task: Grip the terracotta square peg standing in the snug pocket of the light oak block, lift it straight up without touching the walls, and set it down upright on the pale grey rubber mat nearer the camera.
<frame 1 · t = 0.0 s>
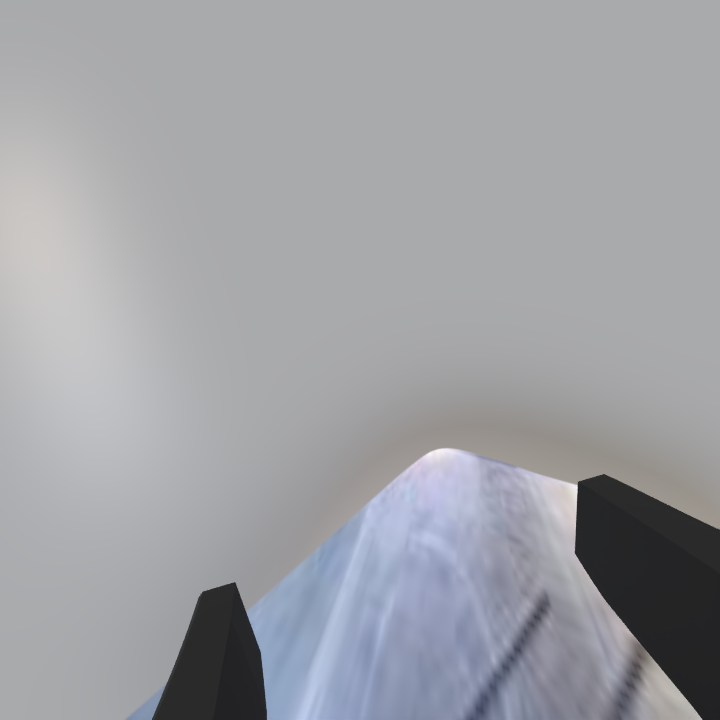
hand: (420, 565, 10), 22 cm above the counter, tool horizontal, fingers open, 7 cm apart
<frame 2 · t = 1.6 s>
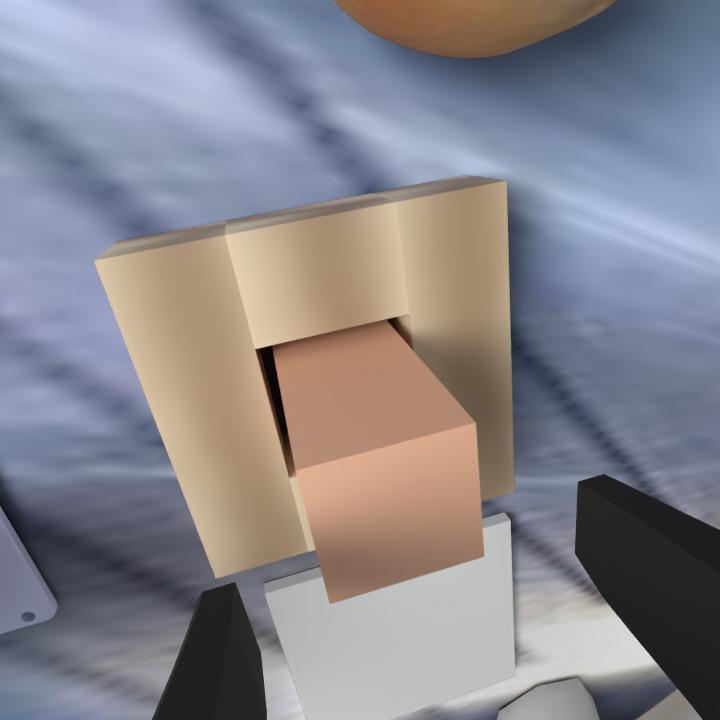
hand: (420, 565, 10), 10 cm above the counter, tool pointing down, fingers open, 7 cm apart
flask: (538, 711, 33), on the counter
mat: (402, 630, 26), on the counter
pocket block: (331, 364, 19), on the counter
peg: (356, 420, 15), in the pocket block
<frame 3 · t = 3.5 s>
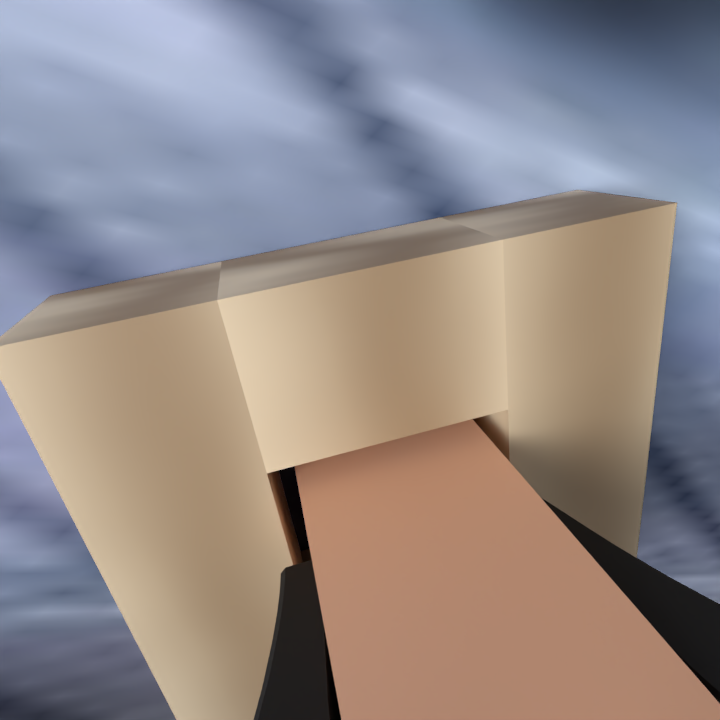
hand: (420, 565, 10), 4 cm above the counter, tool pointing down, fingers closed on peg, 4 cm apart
pocket block: (372, 457, 14), on the counter
peg: (429, 587, 10), in the pocket block, touching gripper
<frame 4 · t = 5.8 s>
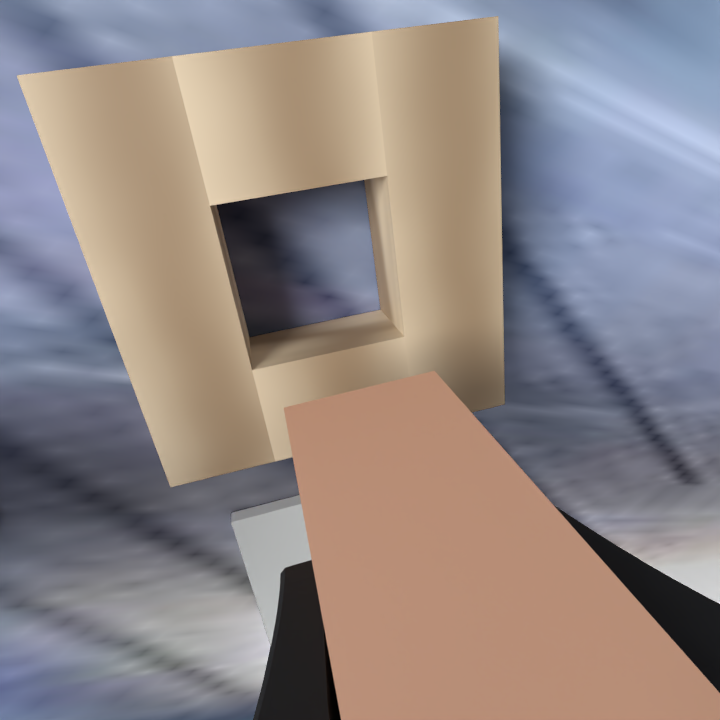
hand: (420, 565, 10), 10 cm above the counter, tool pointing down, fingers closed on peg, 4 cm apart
mat: (384, 575, 24), on the counter
pocket block: (304, 257, 18), on the counter
peg: (428, 581, 10), point 11 cm above the counter, touching gripper
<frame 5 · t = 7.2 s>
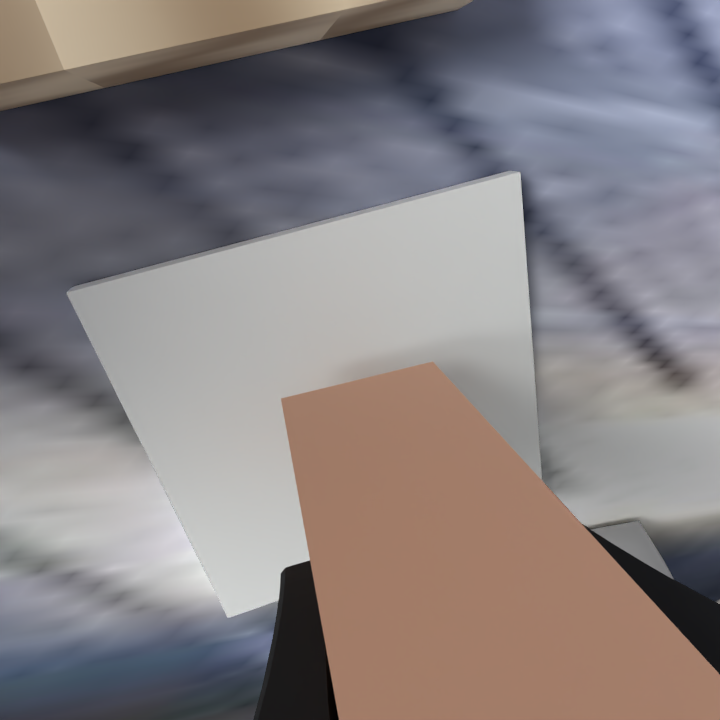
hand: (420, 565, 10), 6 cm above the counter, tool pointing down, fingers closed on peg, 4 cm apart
flask: (581, 580, 22), on the counter
mat: (352, 413, 16), on the counter
peg: (426, 571, 9), point 7 cm above the counter, touching gripper
when the fingers open (6 cm above the counter, at t = 8.2 s): peg drops 1 cm, resting on mat.
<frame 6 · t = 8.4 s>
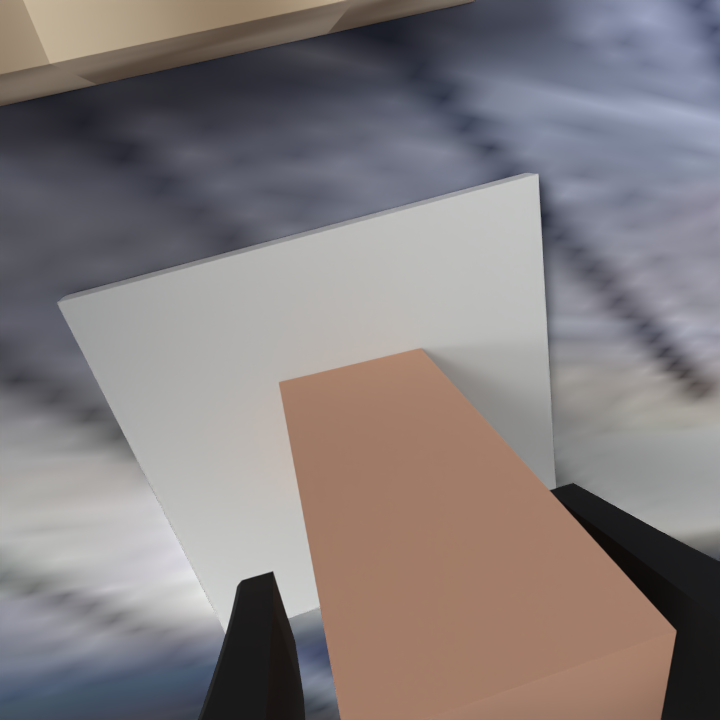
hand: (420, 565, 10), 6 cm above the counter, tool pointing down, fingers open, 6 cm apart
mat: (358, 426, 15), on the counter
peg: (411, 535, 10), on the mat, point 5 cm above the counter
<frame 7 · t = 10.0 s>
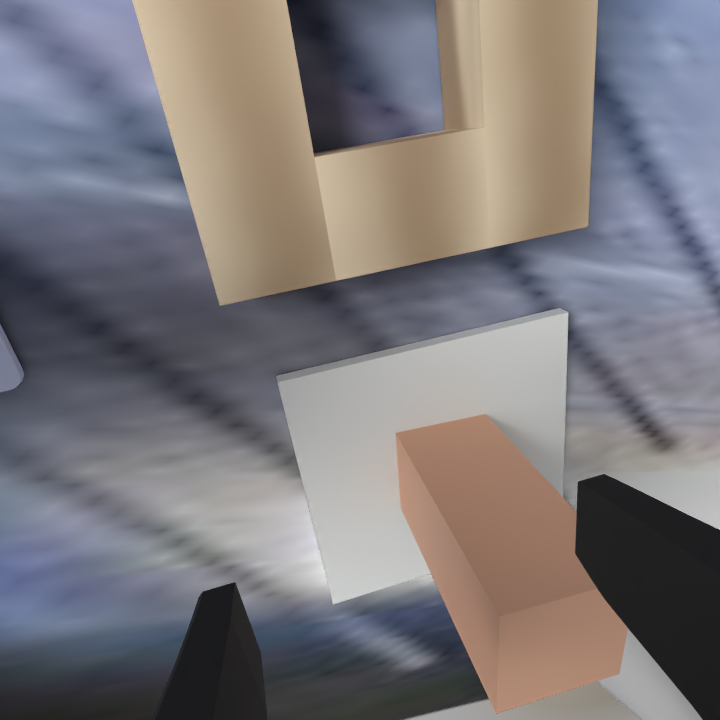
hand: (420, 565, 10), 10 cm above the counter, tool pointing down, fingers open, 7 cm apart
flask: (582, 589, 29), on the counter
mat: (436, 461, 23), on the counter
pocket block: (363, 55, 16), on the counter
peg: (489, 534, 18), on the mat, point 5 cm above the counter
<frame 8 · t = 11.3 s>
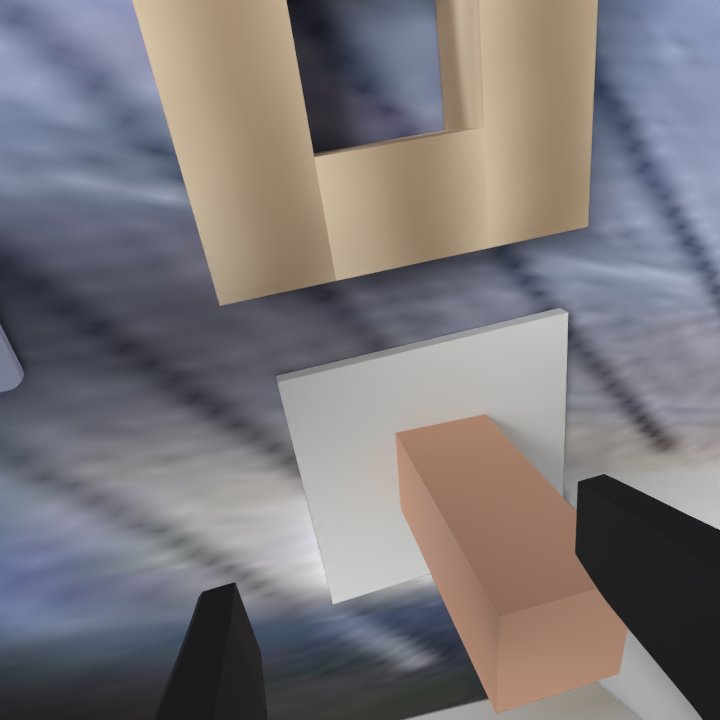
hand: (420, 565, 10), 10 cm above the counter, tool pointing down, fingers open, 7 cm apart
flask: (581, 589, 29), on the counter
mat: (436, 461, 23), on the counter
pocket block: (363, 56, 16), on the counter
peg: (489, 534, 18), on the mat, point 5 cm above the counter
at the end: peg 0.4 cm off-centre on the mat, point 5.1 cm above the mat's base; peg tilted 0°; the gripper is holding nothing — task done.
